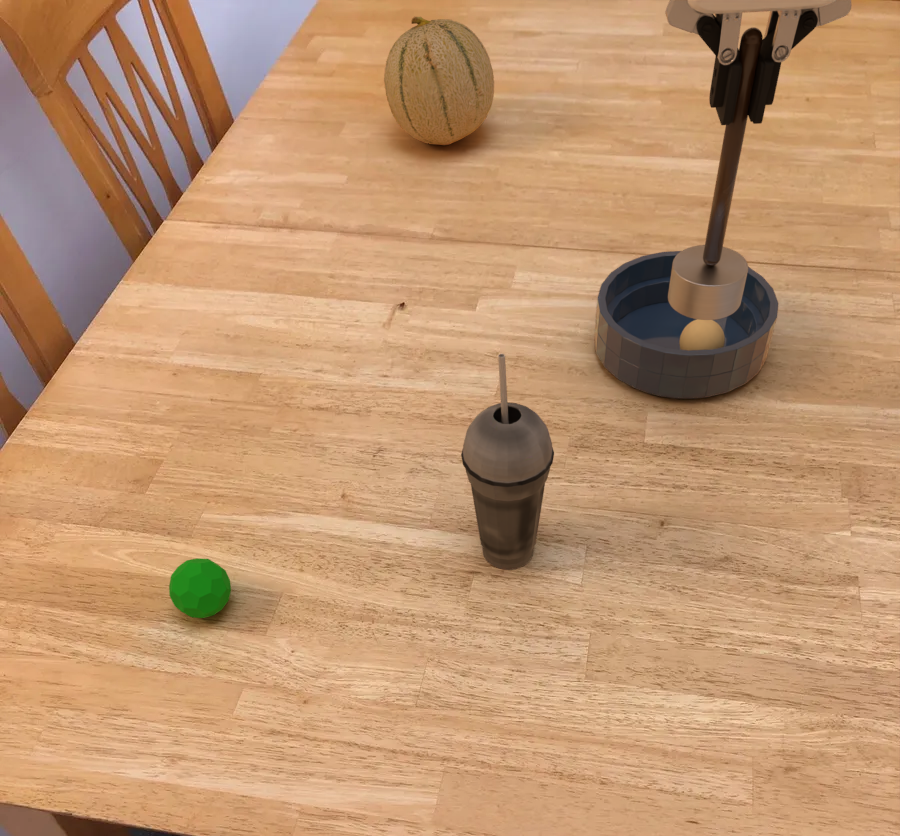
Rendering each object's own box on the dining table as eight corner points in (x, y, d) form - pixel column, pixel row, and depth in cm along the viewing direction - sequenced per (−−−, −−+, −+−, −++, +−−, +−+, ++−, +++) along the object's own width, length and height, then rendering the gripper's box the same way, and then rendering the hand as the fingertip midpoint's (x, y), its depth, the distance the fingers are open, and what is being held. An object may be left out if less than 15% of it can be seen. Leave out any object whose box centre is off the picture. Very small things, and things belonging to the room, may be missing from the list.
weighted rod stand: (739, 279, 79) (796, 9, 63) (742, 321, 75) (804, 47, 59) (667, 277, 80) (706, 10, 63) (667, 319, 76) (708, 47, 60)
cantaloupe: (488, 166, 123) (485, 44, 111) (380, 163, 125) (366, 43, 113) (501, 114, 132) (500, -5, 120) (401, 112, 134) (390, -5, 122)
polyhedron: (248, 602, 79) (234, 566, 75) (203, 638, 77) (187, 603, 73) (211, 574, 81) (196, 538, 78) (167, 608, 79) (149, 572, 76)
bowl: (746, 296, 102) (757, 246, 97) (782, 400, 91) (796, 350, 87) (586, 304, 103) (590, 255, 98) (603, 408, 92) (607, 359, 87)
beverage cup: (481, 591, 79) (473, 408, 63) (456, 531, 83) (443, 346, 67) (561, 569, 80) (573, 384, 64) (533, 511, 84) (538, 324, 68)
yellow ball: (719, 314, 90) (737, 353, 91) (706, 306, 94) (724, 343, 95) (678, 338, 91) (696, 376, 92) (667, 329, 94) (685, 366, 96)
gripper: (925, -251, 53) (837, 86, 67) (650, -232, 54) (622, 97, 68) (967, -219, 48) (863, 136, 63) (666, -198, 49) (632, 146, 64)
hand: (738, 114), depth 66 cm, fingers closed on weighted rod stand, 1 cm apart
